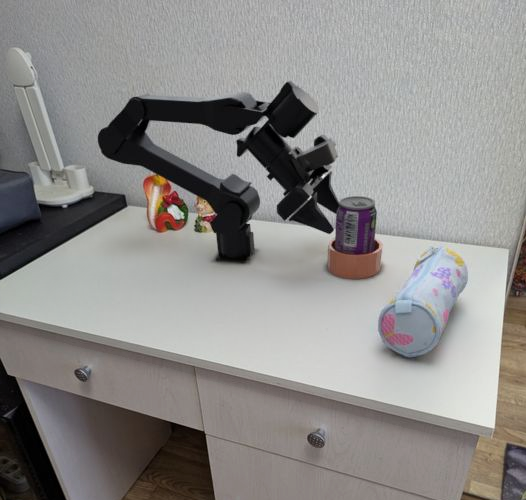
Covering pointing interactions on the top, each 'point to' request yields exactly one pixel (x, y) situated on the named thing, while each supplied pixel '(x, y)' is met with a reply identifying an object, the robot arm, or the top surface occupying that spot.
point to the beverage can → (355, 225)
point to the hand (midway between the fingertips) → (336, 222)
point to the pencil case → (423, 303)
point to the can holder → (354, 262)
